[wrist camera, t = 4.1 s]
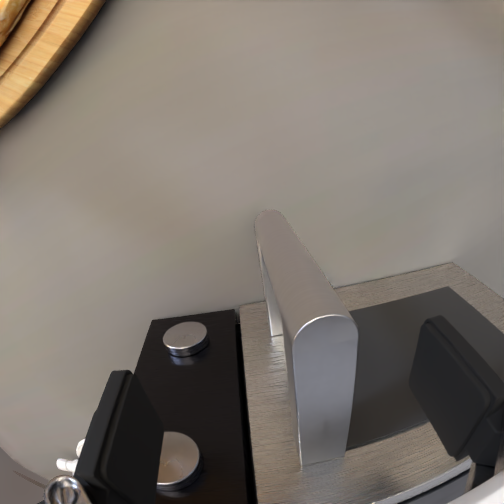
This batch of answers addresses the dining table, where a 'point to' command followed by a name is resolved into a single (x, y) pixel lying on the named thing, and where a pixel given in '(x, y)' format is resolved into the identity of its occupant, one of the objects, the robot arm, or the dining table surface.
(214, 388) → the microwave
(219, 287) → the dining table surface
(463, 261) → the dining table surface
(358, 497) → the microwave door
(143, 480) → the robot arm
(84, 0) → the wooden plate
